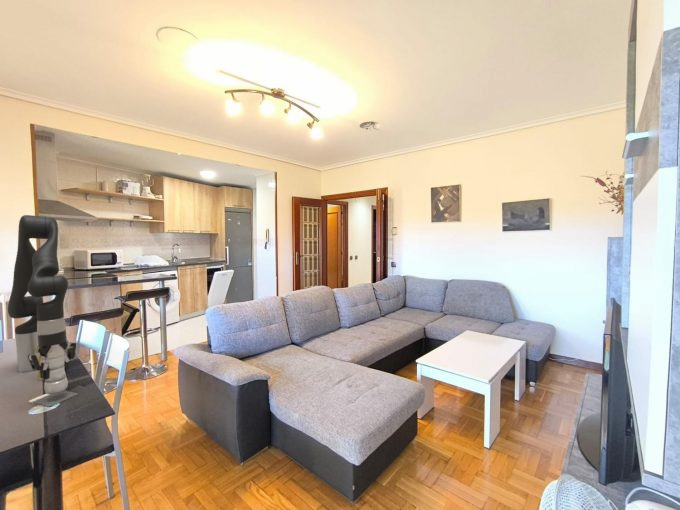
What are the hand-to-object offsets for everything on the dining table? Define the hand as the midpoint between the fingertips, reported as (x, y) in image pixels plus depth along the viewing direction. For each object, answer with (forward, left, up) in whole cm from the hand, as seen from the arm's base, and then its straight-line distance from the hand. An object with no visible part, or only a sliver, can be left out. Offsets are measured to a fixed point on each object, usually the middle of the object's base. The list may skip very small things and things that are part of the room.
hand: (55, 375), depth 112 cm
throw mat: (-2, 0, -9) cm, 9 cm away
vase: (-25, +10, -9) cm, 29 cm away
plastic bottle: (0, 0, -7) cm, 7 cm away
